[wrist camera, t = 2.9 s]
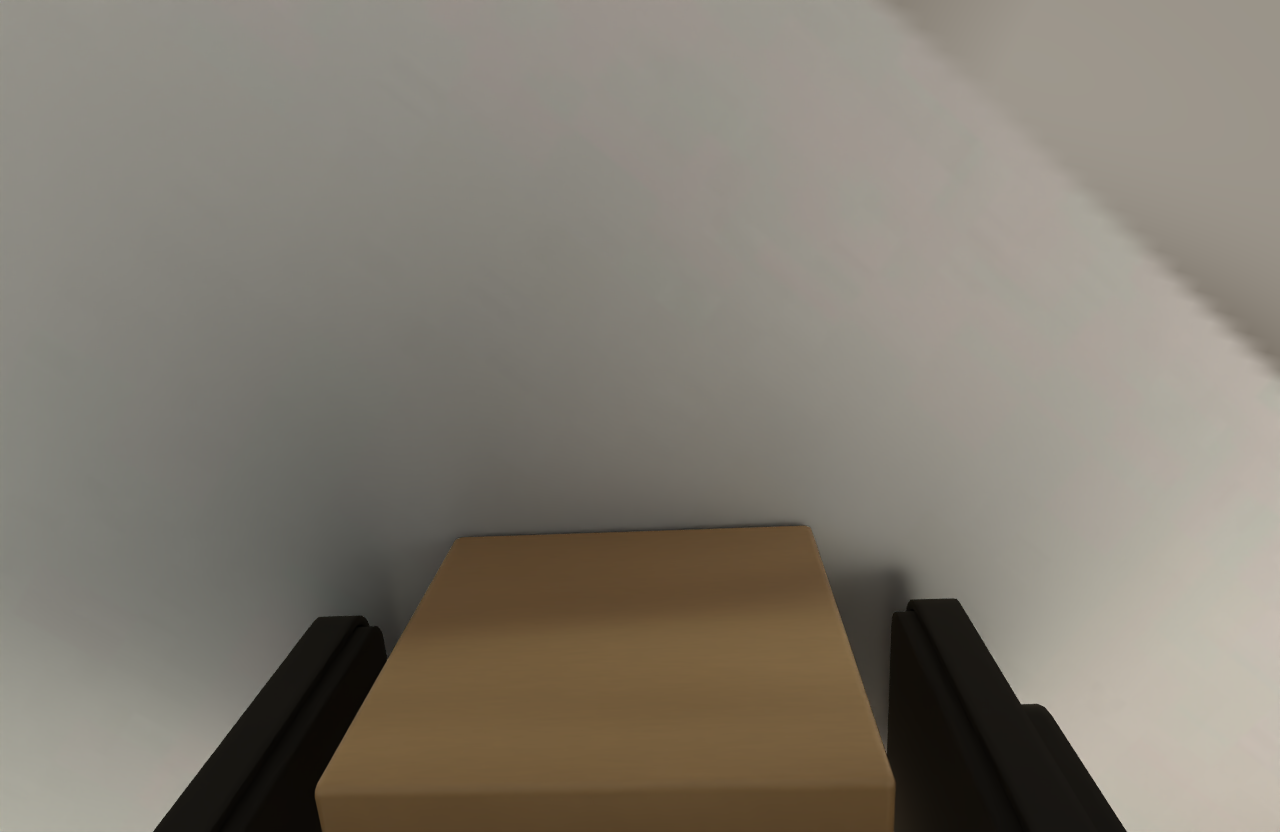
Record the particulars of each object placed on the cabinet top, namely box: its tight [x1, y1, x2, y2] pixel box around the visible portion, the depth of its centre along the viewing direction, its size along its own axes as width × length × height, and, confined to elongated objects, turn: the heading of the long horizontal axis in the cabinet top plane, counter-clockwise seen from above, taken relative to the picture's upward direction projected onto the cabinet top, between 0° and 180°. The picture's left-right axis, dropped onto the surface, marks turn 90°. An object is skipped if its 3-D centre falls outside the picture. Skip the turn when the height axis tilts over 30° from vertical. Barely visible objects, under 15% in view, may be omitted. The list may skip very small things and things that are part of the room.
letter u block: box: [315, 526, 896, 832], centre depth 9 cm, size 4×4×5 cm
